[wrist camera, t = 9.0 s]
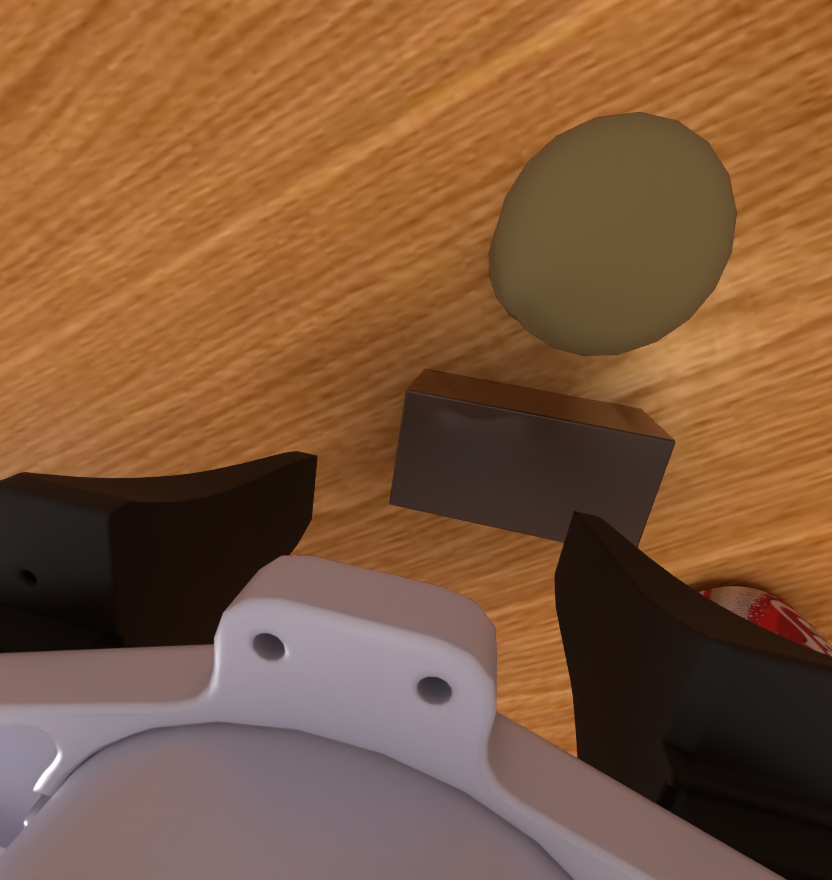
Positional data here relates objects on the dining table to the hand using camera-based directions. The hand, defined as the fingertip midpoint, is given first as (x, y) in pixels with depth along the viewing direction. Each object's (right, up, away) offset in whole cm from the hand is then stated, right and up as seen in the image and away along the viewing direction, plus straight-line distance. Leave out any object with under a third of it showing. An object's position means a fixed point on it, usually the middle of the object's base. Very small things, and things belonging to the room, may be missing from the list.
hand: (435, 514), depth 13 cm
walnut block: (+4, +2, +10) cm, 11 cm away
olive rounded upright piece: (+6, +10, +7) cm, 13 cm away
